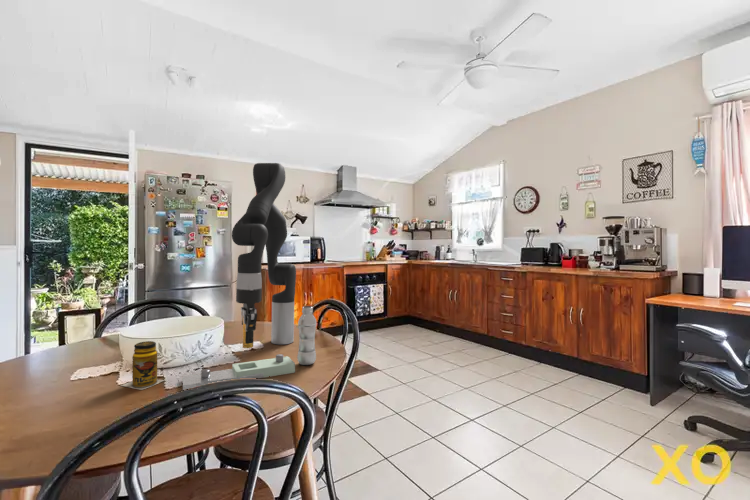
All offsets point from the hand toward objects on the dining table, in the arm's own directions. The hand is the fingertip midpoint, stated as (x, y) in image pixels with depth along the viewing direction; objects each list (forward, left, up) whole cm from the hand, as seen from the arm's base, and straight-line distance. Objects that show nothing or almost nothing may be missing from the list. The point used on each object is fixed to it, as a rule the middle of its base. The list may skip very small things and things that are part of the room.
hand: (248, 341), depth 111 cm
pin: (0, 0, -2) cm, 2 cm away
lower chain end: (0, -7, -11) cm, 13 cm away
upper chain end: (0, +5, -11) cm, 12 cm away
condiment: (-7, -28, -11) cm, 31 cm away
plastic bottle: (-2, +20, -11) cm, 23 cm away
